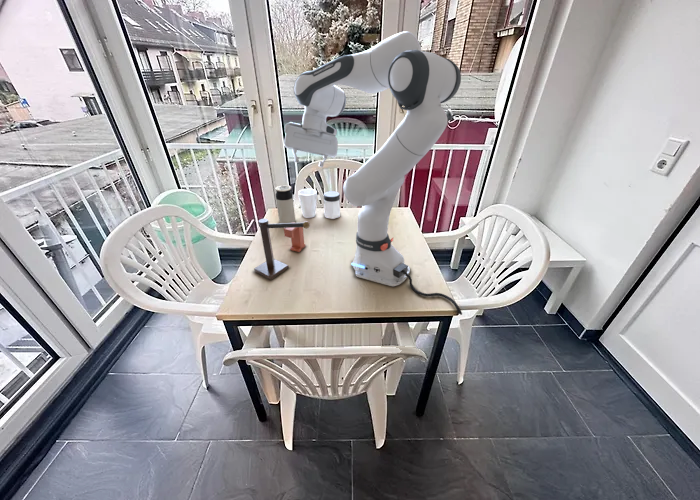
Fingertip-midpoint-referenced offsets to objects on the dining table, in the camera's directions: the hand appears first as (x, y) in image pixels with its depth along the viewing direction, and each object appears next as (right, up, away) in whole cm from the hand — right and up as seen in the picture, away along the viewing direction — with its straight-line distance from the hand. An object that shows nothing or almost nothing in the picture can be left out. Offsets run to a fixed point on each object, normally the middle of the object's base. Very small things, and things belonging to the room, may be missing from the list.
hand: (308, 164), depth 109 cm
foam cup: (-6, -15, +42) cm, 45 cm away
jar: (+6, -15, +42) cm, 45 cm away
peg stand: (-10, -40, +1) cm, 41 cm away
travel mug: (-16, -19, +35) cm, 43 cm away
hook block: (-7, -33, +13) cm, 36 cm away
